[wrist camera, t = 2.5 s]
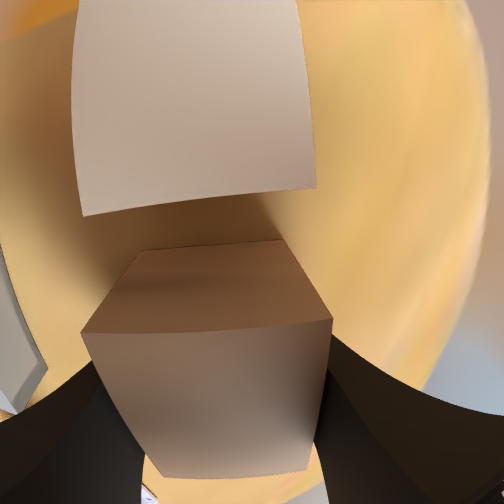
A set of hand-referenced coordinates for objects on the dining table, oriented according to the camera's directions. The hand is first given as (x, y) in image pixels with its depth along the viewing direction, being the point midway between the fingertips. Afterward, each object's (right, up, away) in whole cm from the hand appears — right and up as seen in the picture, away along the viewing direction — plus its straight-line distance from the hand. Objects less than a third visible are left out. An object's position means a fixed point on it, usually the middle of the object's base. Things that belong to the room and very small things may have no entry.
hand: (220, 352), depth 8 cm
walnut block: (0, 0, +1) cm, 1 cm away
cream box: (-1, +8, -1) cm, 8 cm away
